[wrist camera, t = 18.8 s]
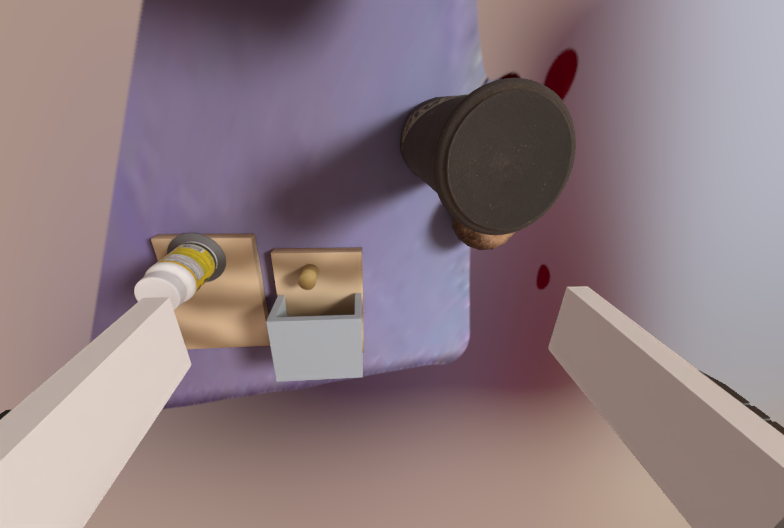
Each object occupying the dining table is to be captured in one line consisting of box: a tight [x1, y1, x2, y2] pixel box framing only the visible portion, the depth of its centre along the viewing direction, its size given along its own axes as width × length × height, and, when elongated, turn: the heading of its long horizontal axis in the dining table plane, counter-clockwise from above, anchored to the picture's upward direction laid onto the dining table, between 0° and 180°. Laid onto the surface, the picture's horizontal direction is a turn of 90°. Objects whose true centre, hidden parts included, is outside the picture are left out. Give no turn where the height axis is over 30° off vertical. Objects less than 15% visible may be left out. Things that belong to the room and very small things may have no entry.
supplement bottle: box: [134, 242, 217, 310], centre depth 33 cm, size 5×5×8 cm
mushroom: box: [452, 217, 515, 250], centre depth 38 cm, size 8×8×6 cm
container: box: [400, 78, 576, 235], centre depth 27 cm, size 9×9×20 cm
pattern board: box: [271, 247, 364, 353], centre depth 41 cm, size 16×11×4 cm
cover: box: [266, 293, 363, 382], centre depth 40 cm, size 9×11×6 cm
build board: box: [151, 233, 270, 349], centre depth 40 cm, size 17×11×2 cm, turn 178°
